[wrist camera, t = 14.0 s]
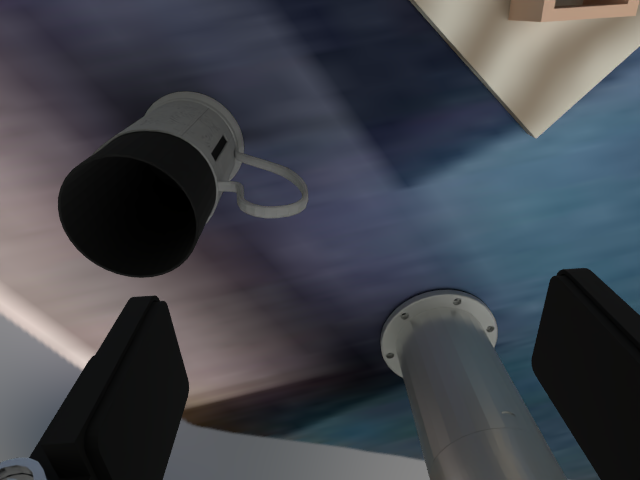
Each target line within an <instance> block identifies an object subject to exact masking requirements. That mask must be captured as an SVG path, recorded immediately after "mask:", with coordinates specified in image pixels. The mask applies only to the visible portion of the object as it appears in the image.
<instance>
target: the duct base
mask: <svg viewBox="0 0 640 480" xmlns="http://www.w3.org/2000/svg"><path fill="white" fill-rule="evenodd" d="M409 1H410V2H411V3H412V4H413V5H414V6H415V8H416V9H417V10H418V11H419V12H420V13H421V14H422V15H423V17H424V18H425V19H426V20H427V21H428V22H429V23H430V24H431V26H432V27H433V28H434V29H435V30H436V31H437V32H438V33H439V35H440V36H441V37H442V38H443V39H444V40H445V41H446V42H447V44H448V45H449V46H450V47H451V48H452V49H453V50H454V51H455V53H456V54H457V55H458V56H459V57H460V58H461V59H462V60H463V62H464V63H465V64H466V65H467V66H468V67H469V68H470V69H471V71H472V72H473V73H474V74H475V75H476V76H477V77H478V78H479V80H480V81H481V82H482V83H483V84H484V85H485V86H486V87H487V89H488V90H489V91H490V92H491V93H492V94H493V95H494V96H495V98H496V99H497V100H498V101H499V102H500V103H501V104H502V105H503V107H504V108H505V109H506V110H507V111H508V112H509V113H510V114H511V116H512V117H513V118H514V119H515V120H516V121H517V122H518V123H519V125H520V126H521V127H522V128H523V129H524V130H525V131H526V132H527V134H529V135H530V136H532V137H534V138H537V137H539V136H540V135H541V134H542V133H543V132H544V131H545V130H546V129H548V128H549V127H550V126H551V125H552V124H553V123H554V122H555V121H556V120H558V119H559V118H560V117H561V116H562V115H563V114H564V113H565V112H567V111H568V110H569V109H570V108H571V107H572V106H573V105H574V104H575V103H577V102H578V101H579V100H580V99H581V98H582V97H583V96H584V95H586V94H587V93H588V92H589V91H590V90H591V89H592V88H593V87H594V86H596V85H597V84H598V83H599V82H600V81H601V80H602V79H603V78H605V77H606V76H607V75H608V74H609V73H610V72H611V71H612V70H613V69H615V68H616V67H617V66H618V65H619V64H620V63H621V62H622V61H624V60H625V59H626V58H627V57H628V56H629V55H630V54H631V53H632V52H634V51H635V50H636V49H637V48H638V47H639V46H640V1H639V5H638V9H637V13H636V16H627V17H611V18H596V19H581V20H566V21H550V22H530V21H512V20H508V18H509V10H510V3H511V0H409ZM582 4H583V0H556V1H555V6H571V5H582Z"/></svg>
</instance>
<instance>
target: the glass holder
mask: <svg viewBox="0 0 640 480" xmlns="http://www.w3.org/2000/svg"><path fill="white" fill-rule="evenodd" d="M242 163H245V164H248V165H251V166H255V167H258V168H261V169H264V170H267V171H270V172H273V173H276V174H278V175H280V176H283V177H285V178H286V179H288V180H289V181H291V182H292V183H293V184H295V185H296V186H297V187H298V188H299V190H300V191H301V193H302V198H301V199H300V200H299V201H297V202H296V203H292V204H289V205H284V206H268V207H267V206H260V205H256V204H253V203H250V202H248V201H247V200H245V199H244V187H243V185H242V184H241V183H238V182H233V181H230V180H231V179H232V178H233V177H234V176H235V175H236V173H237V172H238V170H239V168H240V166H241V164H242ZM223 191H228V192H236V193H237V204H238V206H239V207H240V209H241V210H242V211H243V212H245V213H246V214H249V215H252V216H255V217H261V218H281V217H288V216H292V215H295V214H298V213H300V212H301V211H303V210H304V209H305V208H306V205H307V202H308V190H307V185H306V184H305V182H304V181H303V179H302V178H301V177H300V176H299V175H297V174H296V173H295V172H293V171H292V170H290V169H289V168H287V167H284V166H281V165H279V164H275V163H272V162H269V161H266V160H263V159H260V158H256V157H253V156H250V155H247V154H244V142H243V136H242V133H241V130H240V127H239V125H238V123H237V121H236V120H235V118H234V117H233V116H232V114H231V113H230V112H229V111H228V110H227V109H226V108H225V107H224V106H223V105H222V104H220V103H219V102H218V101H216V100H215V99H213V98H211V97H208V96H206V95H203V94H200V93H197V92H189V91H184V92H175V93H171V94H168V95H166V96H164V97H162V98H160V99H158V100H157V101H156V102H155V103H153V104H152V106H151V107H150V108H149V109H148V110H147V112H146V114H145V116H144V117H142V118H141V119H139V120H138V121H136V122H135V123H133V124H132V125H130V126H129V127H127V128H126V129H124V130H123V131H121V132H120V133H118V134H117V135H116V136H114V137H113V138H111V139H110V140H109V141H107V142H106V143H104V144H103V145H102V146H101V147H100V148H99V149H98V150H97V151H96V152H95V153H94V154H93V155H92V156H91V157H89V158H88V159H86V160H85V161H83V162H82V163H80V164H79V165H78V166H76V167H75V168H74V169H73V170H72V171H71V172H70V173H69V174H68V175H67V177H66V178H65V180H64V182H63V184H62V186H61V188H60V192H59V197H58V211H59V217H60V221H61V223H62V226H63V229H64V231H65V233H66V234H67V236H68V238H69V239H70V241H71V242H72V243H73V245H74V246H75V247H76V248H77V249H78V250H79V251H80V252H81V253H82V254H83V255H84V256H85V257H86V258H88V259H89V260H90V261H92V262H93V263H95V264H96V265H98V266H100V267H102V268H104V269H106V270H108V271H111V272H114V273H116V274H120V275H124V276H129V277H139V278H143V277H154V276H158V275H163V274H165V273H168V272H170V271H172V270H174V269H175V268H177V267H179V266H180V265H181V264H182V263H183V262H184V261H186V260H187V259H188V257H189V256H190V254H191V253H192V251H193V250H194V247H195V245H196V243H197V241H198V239H199V237H200V235H201V232H202V230H203V228H204V226H205V224H206V223H207V222H208V221H209V219H210V218H211V216H212V215H213V213H214V211H215V208H216V206H217V204H218V202H219V200H220V197H221V195H222V193H223Z"/></svg>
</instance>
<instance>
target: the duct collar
mask: <svg viewBox="0 0 640 480" xmlns="http://www.w3.org/2000/svg"><path fill="white" fill-rule="evenodd" d="M555 1H556V0H511V3H510V10H509V18H508V20H512V21H530V22H550V21H566V20H581V19H596V18H611V17H627V16H636V13H637V9H638V5H639V1H640V0H583V4H582V5H571V6H555Z"/></svg>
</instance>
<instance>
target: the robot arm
mask: <svg viewBox="0 0 640 480" xmlns="http://www.w3.org/2000/svg"><path fill="white" fill-rule="evenodd" d="M497 336H498V328H497V324H496V320H495V318H494V316H493V314H492V313H491V311H490V310H489V308H488V307H487V306H486V304H485V303H483V302H482V301H481V300H480V299H478V298H477V297H475V296H473V295H471V294H468V293H465V292H462V291H456V290H436V291H431V292H426V293H423V294H420V295H417V296H415V297H413V298H411V299H409V300H407V301H406V302H404V303H403V304H401V305H400V306H399V307H398V308H396V309H395V310H394V311H393V313H392V314H391V315H390V316H389V317H388V319H387V320H386V322H385V324H384V326H383V329H382V332H381V337H380V345H381V351H382V355H383V358H384V360H385V362H386V364H387V365H388V367H389V368H390V369H391V370H392V371H393V372H394V373H396V374H397V375H399V376H400V377H402V378H403V379H404V383H405V386H406V390H407V394H408V398H409V402H410V406H411V409H412V413H413V417H414V421H415V425H416V428H417V432H418V436H419V440H420V444H421V448H422V451H423V455H424V459H425V463H426V466H427V470H428V474H429V477H430V480H567V478H566V476H565V475H564V473H563V471H562V469H561V468H560V466H559V464H558V462H557V460H556V459H555V457H554V455H553V453H552V451H551V450H550V448H549V446H548V445H547V443H546V441H545V439H544V437H543V435H542V434H541V432H540V430H539V428H538V426H537V425H536V423H535V421H534V419H533V417H532V416H531V414H530V412H529V410H528V408H527V407H526V405H525V403H524V401H523V399H522V398H521V396H520V394H519V392H518V390H517V389H516V387H515V385H514V383H513V381H512V380H511V378H510V376H509V374H508V372H507V371H506V369H505V367H504V365H503V363H502V362H501V360H500V358H499V356H498V354H497V353H496V351H495V349H494V347H495V345H496V341H497ZM532 368H533V371H534V373H535V375H536V377H537V379H538V380H539V382H540V383H541V385H542V386H543V388H544V390H545V391H546V393H547V394H548V396H549V398H550V399H551V401H552V402H553V404H554V406H555V407H556V409H557V410H558V412H559V414H560V415H561V417H562V418H563V420H564V422H565V423H566V425H567V426H568V428H569V430H570V431H571V433H572V434H573V436H574V438H575V439H576V441H577V442H578V444H579V445H580V447H581V449H582V450H583V452H584V453H585V455H586V457H587V458H588V460H589V461H590V463H591V465H592V466H593V468H594V469H595V471H596V473H597V474H598V476H599V477H600V479H601V480H640V315H639V314H638V313H636V312H635V311H634V310H633V309H632V308H631V307H630V306H629V305H628V304H627V303H626V302H625V301H623V300H622V299H621V298H620V297H619V296H618V295H617V294H616V293H615V292H614V291H613V290H611V289H610V288H609V287H608V286H607V285H606V284H605V283H604V282H603V281H602V280H601V279H599V278H598V277H597V276H596V275H595V274H594V273H593V272H592V271H591V270H589V269H587V268H578V269H563V270H560V271H559V272H558V273H557V275H556V276H553V277H552V278H551V280H550V283H549V287H548V291H547V295H546V300H545V304H544V308H543V312H542V317H541V321H540V325H539V330H538V334H537V338H536V342H535V347H534V351H533V355H532ZM188 393H189V382H188V378H187V374H186V370H185V367H184V363H183V360H182V356H181V352H180V349H179V345H178V342H177V338H176V334H175V331H174V327H173V324H172V320H171V316H170V313H169V309H168V306H167V303H166V302H165V301H160V300H159V298H158V297H157V296H142V297H132V298H130V299H129V300H128V302H127V304H126V305H125V307H124V309H123V310H122V312H121V314H120V315H119V317H118V319H117V320H116V322H115V323H114V325H113V327H112V328H111V330H110V332H109V333H108V335H107V337H106V338H105V340H104V342H103V343H102V345H101V347H100V348H99V350H98V351H97V353H96V355H95V356H93V357H92V358H91V359H90V360H89V362H88V363H87V365H86V366H85V368H84V370H83V371H82V373H81V374H80V376H79V378H78V379H77V381H76V383H75V384H74V386H73V387H72V389H71V391H70V392H69V394H68V396H67V398H66V399H65V400H64V402H63V404H62V405H61V407H60V409H59V410H58V412H57V414H56V415H55V417H54V419H53V420H52V422H51V423H50V425H49V426H48V428H47V430H46V431H45V433H44V434H43V436H42V438H41V439H40V441H39V443H38V444H37V446H36V447H35V449H34V451H33V452H32V454H31V456H30V457H29V458H14V459H10V460H6V461H3V462H0V480H163V476H164V473H165V470H166V467H167V463H168V460H169V457H170V454H171V450H172V447H173V443H174V440H175V437H176V434H177V430H178V427H179V424H180V421H181V417H182V414H183V411H184V408H185V404H186V401H187V398H188Z"/></svg>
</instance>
